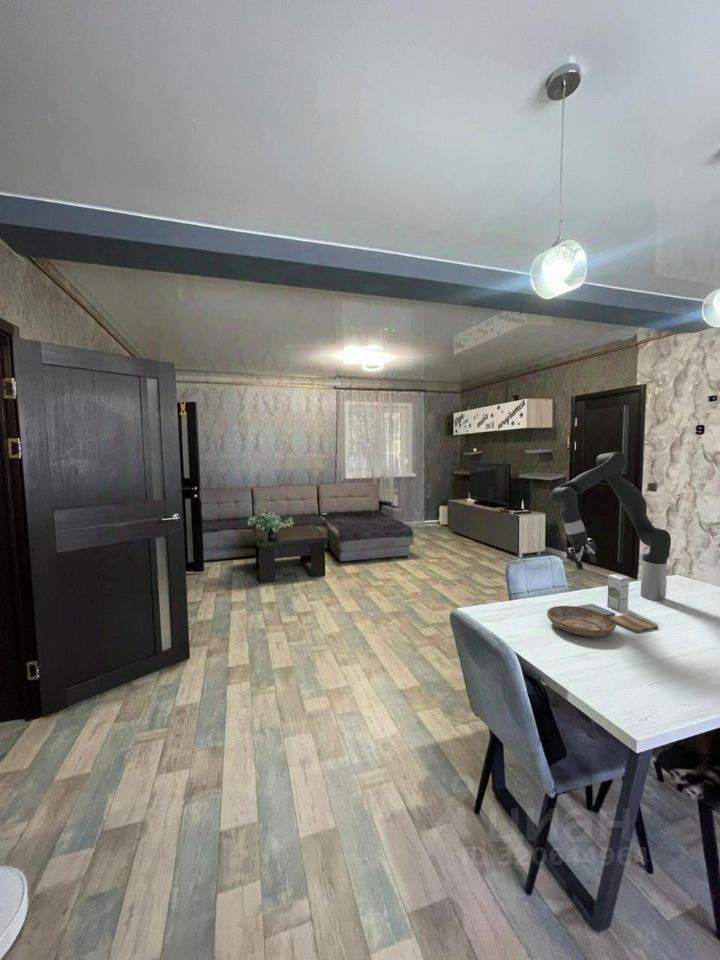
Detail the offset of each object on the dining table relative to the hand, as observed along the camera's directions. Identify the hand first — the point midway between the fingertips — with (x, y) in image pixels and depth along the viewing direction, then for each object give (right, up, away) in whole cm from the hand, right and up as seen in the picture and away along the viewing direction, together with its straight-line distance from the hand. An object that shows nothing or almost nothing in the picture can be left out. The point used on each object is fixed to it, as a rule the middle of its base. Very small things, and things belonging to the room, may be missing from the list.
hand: (587, 565), depth 172 cm
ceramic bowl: (-14, -21, -19) cm, 31 cm away
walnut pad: (+9, -20, -15) cm, 27 cm away
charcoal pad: (+1, -19, -3) cm, 20 cm away
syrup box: (+14, -19, +1) cm, 24 cm away
